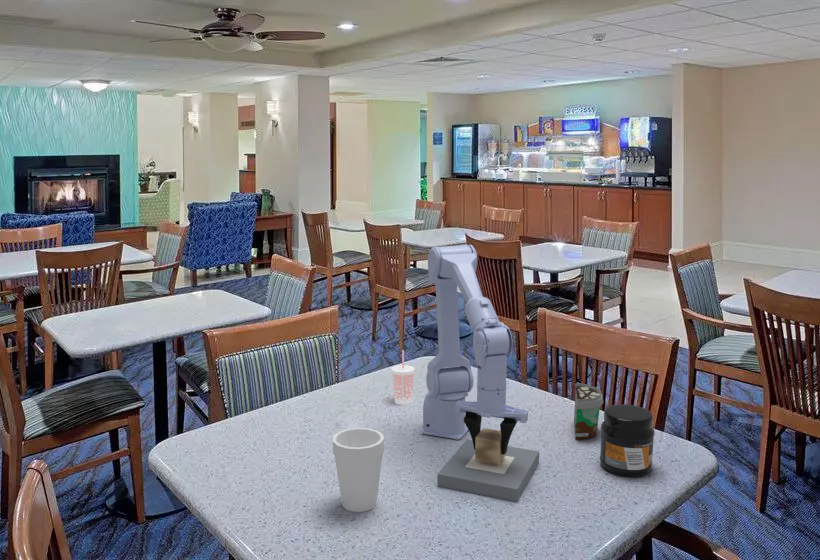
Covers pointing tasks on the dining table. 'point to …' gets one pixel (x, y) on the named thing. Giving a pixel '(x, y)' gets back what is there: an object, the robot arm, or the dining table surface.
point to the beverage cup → (403, 382)
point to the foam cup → (358, 466)
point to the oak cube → (488, 446)
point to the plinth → (489, 472)
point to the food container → (586, 411)
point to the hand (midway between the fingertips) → (490, 450)
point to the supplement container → (627, 440)
